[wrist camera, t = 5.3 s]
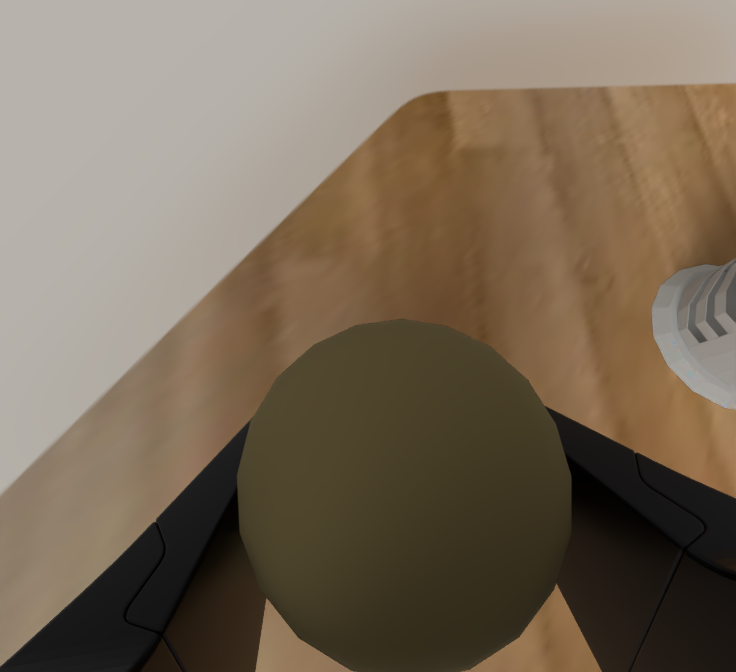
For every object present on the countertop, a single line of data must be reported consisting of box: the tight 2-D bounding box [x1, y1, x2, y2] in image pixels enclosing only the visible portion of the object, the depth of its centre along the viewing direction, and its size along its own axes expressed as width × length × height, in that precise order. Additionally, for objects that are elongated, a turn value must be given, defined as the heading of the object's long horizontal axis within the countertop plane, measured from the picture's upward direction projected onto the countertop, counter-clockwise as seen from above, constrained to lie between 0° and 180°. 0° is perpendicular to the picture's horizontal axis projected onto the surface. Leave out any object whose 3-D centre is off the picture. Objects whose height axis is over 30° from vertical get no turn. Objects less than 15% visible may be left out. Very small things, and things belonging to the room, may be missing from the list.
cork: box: [237, 319, 572, 672], centre depth 10 cm, size 6×6×11 cm
